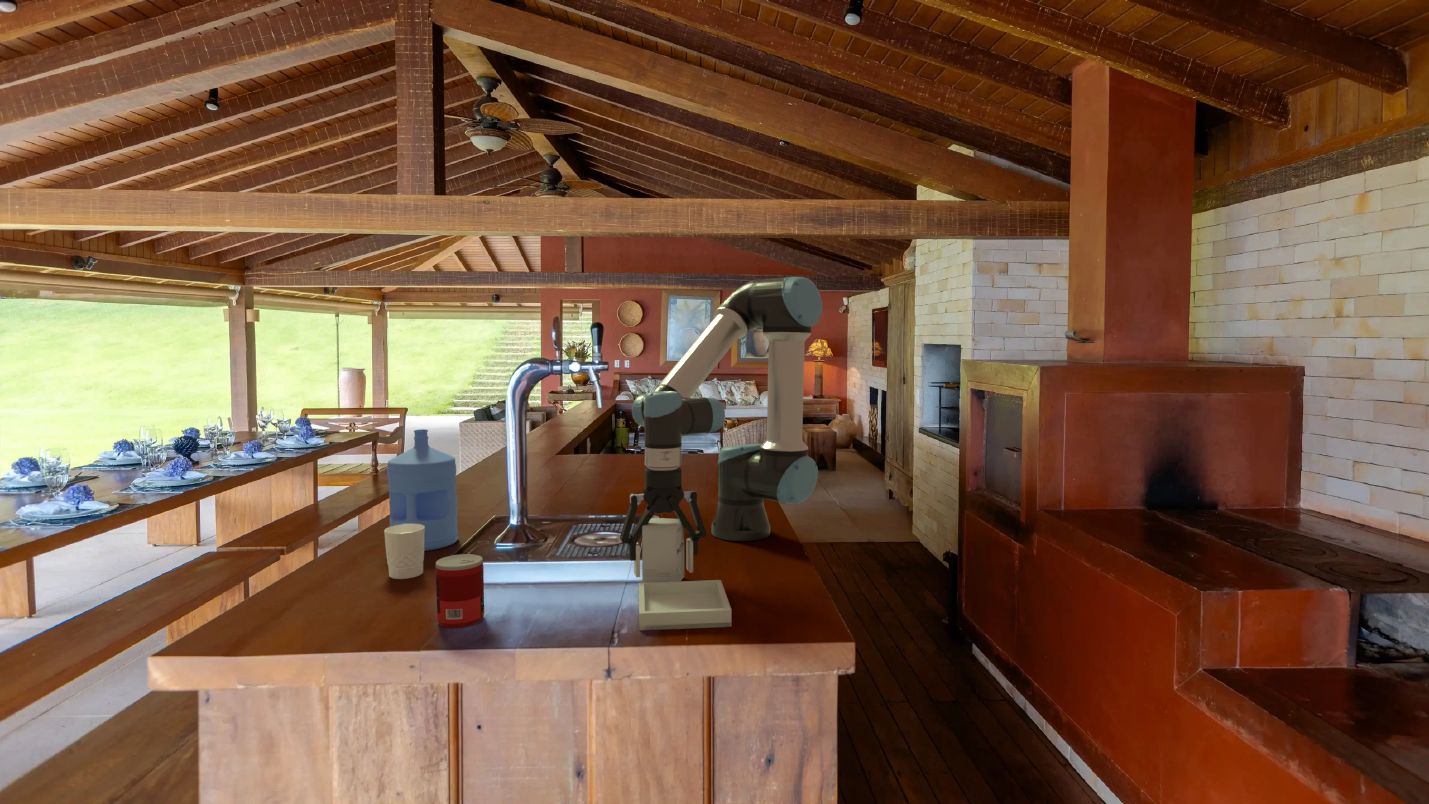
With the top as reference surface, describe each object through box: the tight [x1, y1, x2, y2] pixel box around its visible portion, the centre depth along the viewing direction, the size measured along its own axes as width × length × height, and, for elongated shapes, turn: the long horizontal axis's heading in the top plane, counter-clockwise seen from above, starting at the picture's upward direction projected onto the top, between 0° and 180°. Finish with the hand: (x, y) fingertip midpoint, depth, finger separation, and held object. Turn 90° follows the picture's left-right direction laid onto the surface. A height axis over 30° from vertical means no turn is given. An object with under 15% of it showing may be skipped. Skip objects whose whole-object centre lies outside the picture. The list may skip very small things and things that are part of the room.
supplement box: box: [641, 517, 685, 583], centre depth 150 cm, size 7×7×13 cm
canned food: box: [435, 553, 485, 629], centre depth 130 cm, size 8×8×11 cm
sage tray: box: [638, 579, 732, 631], centre depth 134 cm, size 16×16×3 cm
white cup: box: [383, 524, 425, 580], centre depth 155 cm, size 8×8×10 cm
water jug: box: [386, 428, 459, 552], centre depth 178 cm, size 16×16×28 cm
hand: (663, 572), depth 151 cm, fingers open, 10 cm apart
